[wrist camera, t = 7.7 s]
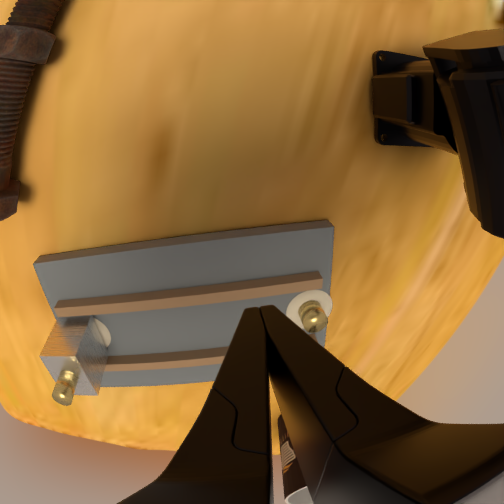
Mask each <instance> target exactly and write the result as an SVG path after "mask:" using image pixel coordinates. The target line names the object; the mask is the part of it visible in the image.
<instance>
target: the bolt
mask: <svg viewBox="0 0 504 504" xmlns="http://www.w3.org/2000/svg"><path fill="white" fill-rule="evenodd" d="M63 1H65V0H18V2H16V3H15V5H16V6H15V7H14V8H13V12H11V17H9V18H8V20H9V22H7V23H6V25H0V221H2V220H4V219H6V218H8V217H10V216H11V215H13V214H14V213H16V212H17V203H18V195H19V187H20V181H17V180H14V179H11V178H10V174H11V167H12V154H13V149H14V144H15V140H14V139H16V135H15V134H16V133H17V130H16V129H17V128H18V125H17V124H18V123H19V120H18V118H20V117H21V115H20V114H19V113H21V112H22V109H21V108H22V107H24V105H23V104H22V103H23V102H25V99H24V97H26V96H27V95H26V93H25V92H27V91H28V89H27V87H28V86H29V85H30V84H29V83H28V82H29V81H31V78H30V76H32V75H33V73H32V71H34V70H35V69H34V67H33V66H35V65H37V64H42V65H44V64H46V62H47V59H48V56H49V54H50V51H51V49H52V46H53V44H54V41H55V39H56V36H55V35H53V34H51V33H49V32H47V31H49V30H51V28H50V27H49V26H51V25H53V23H52V21H54V20H55V18H54V17H55V16H56V15H58V14H57V13H56V12H57V11H59V10H60V9H59V7H60V6H62V3H61V2H63Z"/></svg>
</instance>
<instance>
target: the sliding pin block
mask: <svg viewBox="0 0 504 504" xmlns="http://www.w3.org/2000/svg"><path fill="white" fill-rule="evenodd" d="M108 355H109V352H108V350H107V348H106V346H105V343H104V341H103V339H102V337H101V334H100V332H99V330H98V328H97V325H96V323H95V321H94V318H93V316H92V315H85V316H70V317H58V319H57V321H56V323H55V325H54V327H53V329H52V331H51V333H50V335H49V337H48V339H47V341H46V343H45V345H44V347H43V349H42V352H41V354H40V358H41V360H42V361H43V363H44V365H45V366H46V368H47V369H48V371H49V373H50V374H51V376H52V377H53V379H54V380H55V382H56V385H55V387H54V390H53V393H52V397H53V399H54V400H55V401H56V402H58V403H60V404H62V405H66V406H68V405H71V403H72V399H73V396H74V395H98V394H99V390H100V386H101V382H102V378H103V374H104V370H105V366H106V363H107V359H108Z"/></svg>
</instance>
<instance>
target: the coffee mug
mask: <svg viewBox="0 0 504 504" xmlns="http://www.w3.org/2000/svg"><path fill="white" fill-rule="evenodd" d="M278 430H279V441H280V452H281V462H282V474H283V486H284V496H285V502H286V503H287V504H313V501H312V499H311V496H310V493H309V490H308V488H307V485H306V482H305V479H304V476H303V474H302V471H301V468H300V465H299V462H298V460H297V457H296V454H295V451H294V448H293V445H292V443H291V440H290V437H289V434H288V431H287V428H286V425H285V422H284V420H283V417H282V414H281V415H280V417H279V418H278Z"/></svg>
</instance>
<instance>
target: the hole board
mask: <svg viewBox="0 0 504 504" xmlns="http://www.w3.org/2000/svg"><path fill="white" fill-rule="evenodd" d="M333 240H334V226H333V225H332V224H331V223H330V222H329V221H328V220H323V221H313V222H303V223H294V224H284V225H275V226H266V227H257V228H248V229H239V230H230V231H222V232H213V233H205V234H197V235H189V236H181V237H173V238H165V239H157V240H150V241H142V242H134V243H127V244H120V245H112V246H105V247H98V248H91V249H84V250H77V251H70V252H64V253H57V254H50V255H44V256H39V257H38V259H37V260H36V261H35V262H34V263H33V265H34V268H35V271H36V273H37V276H38V279H39V281H40V284H41V286H42V288H43V291H44V293H45V296H46V298H47V300H48V303H49V305H50V307H51V309H52V311H53V314H54V316H55V318H56V320H57V319H58V317H70V316H85V315H92V316H93V318H94V321H95V323H96V325H97V328H98V330H99V332H100V334H101V337H102V339H103V341H104V343H105V346H106V348H107V350H108V352H109V355H108V359H107V363H106V366H105V370H104V374H103V378H102V382H101V386H100V387H132V386H157V385H173V384H187V383H198V382H209V381H215V379H216V376H217V374H218V371H219V369H220V367H221V364H222V362H223V359H224V357H225V355H226V352H227V350H228V347H229V345H230V342H231V340H232V338H233V335H234V333H235V330H236V328H237V325H238V323H239V321H240V318H241V316H242V313H243V311H244V309H245V308H250V307H258V308H260V306H265V305H274V306H276V307H277V308H278V309H279V310H280V311H281V312H283V313H284V314H285V315H286V316H287V317H288V318H290V319H291V320H292V321H293V322H294V323H295V324H297V325H298V326H299V327H300V328H301V329H302V330H304V331H305V332H306V333H307V334H308V335H310V336H311V337H312V338H313V339H314V340H315V341H317V342H318V343H319V344H320V345H321V346H323V347H324V345H325V337H326V328H327V325H326V327H325V328H324V329H322V330H321V331H319V332H316V333H309V332H307V331H306V330H305V329H304V327H303V324H302V322H301V319H300V317H299V314H298V310H299V308H300V306H301V305H302V304H304V303H305V302H308V301H317V302H319V303H320V304H321V306H322V308H323V310H324V312H325V314H326V316H327V318H328V316H329V315H330V313H331V310H332V305H333V304H332V299H331V297H330V285H331V272H332V257H333Z"/></svg>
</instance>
